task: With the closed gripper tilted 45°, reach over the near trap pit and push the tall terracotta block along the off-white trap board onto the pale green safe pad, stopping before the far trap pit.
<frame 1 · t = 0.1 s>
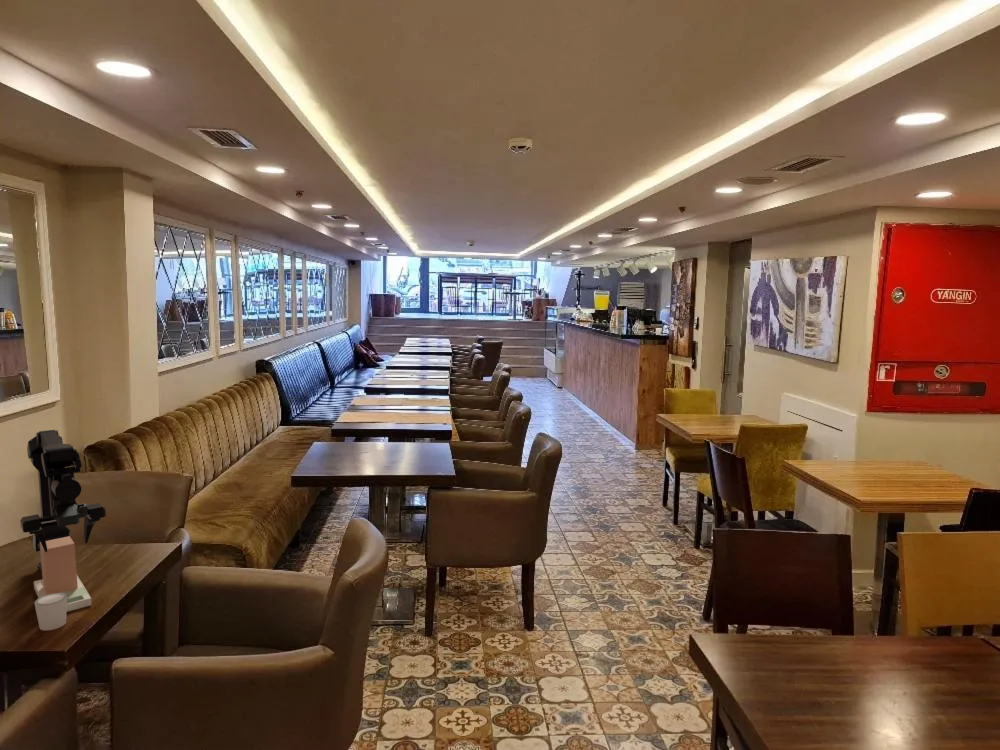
hand: (66, 547, 176), 15 cm above the table, tool pointing down, fingers open, 9 cm apart
trap board: (62, 596, 179), on the table
white cup: (53, 625, 164), on the table
terracotta block: (60, 587, 180), point 2 cm above the table, touching trap board
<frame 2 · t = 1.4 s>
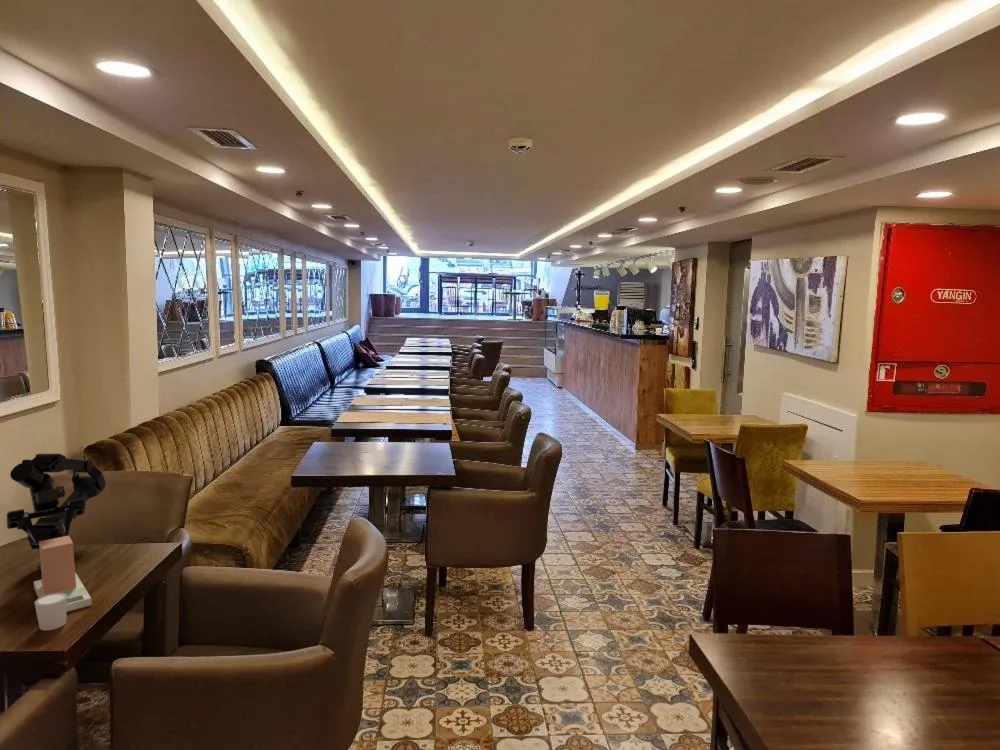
hand: (52, 538, 185), 14 cm above the table, tool tilted 45°, fingers open, 7 cm apart
nothing on the table moved.
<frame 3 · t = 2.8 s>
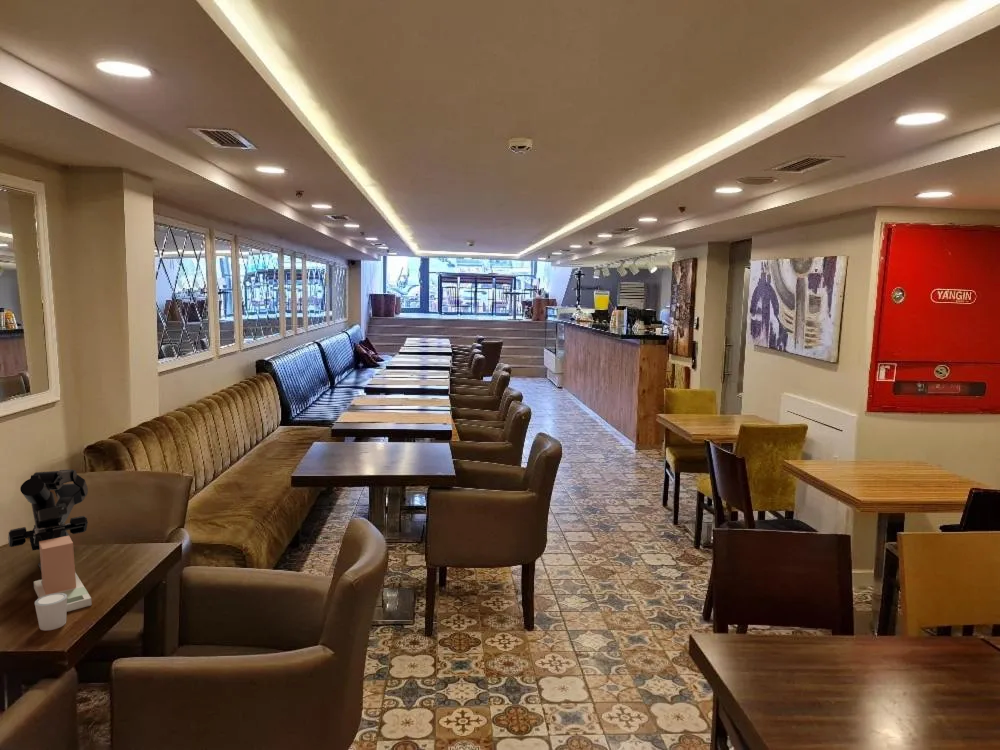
hand: (53, 556, 184), 9 cm above the table, tool tilted 45°, fingers closed
nothing on the table moved.
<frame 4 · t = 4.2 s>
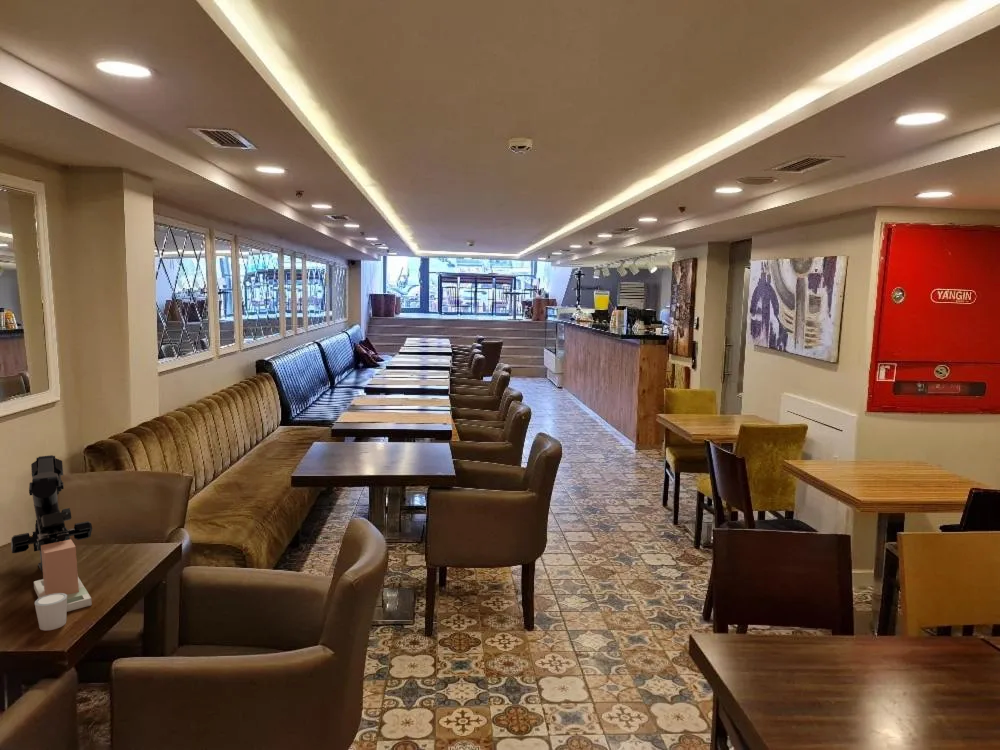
hand: (57, 563, 180), 9 cm above the table, tool tilted 45°, fingers closed, pressing on terracotta block
terracotta block: (61, 591, 178), point 2 cm above the table, touching gripper
everything else where it was.
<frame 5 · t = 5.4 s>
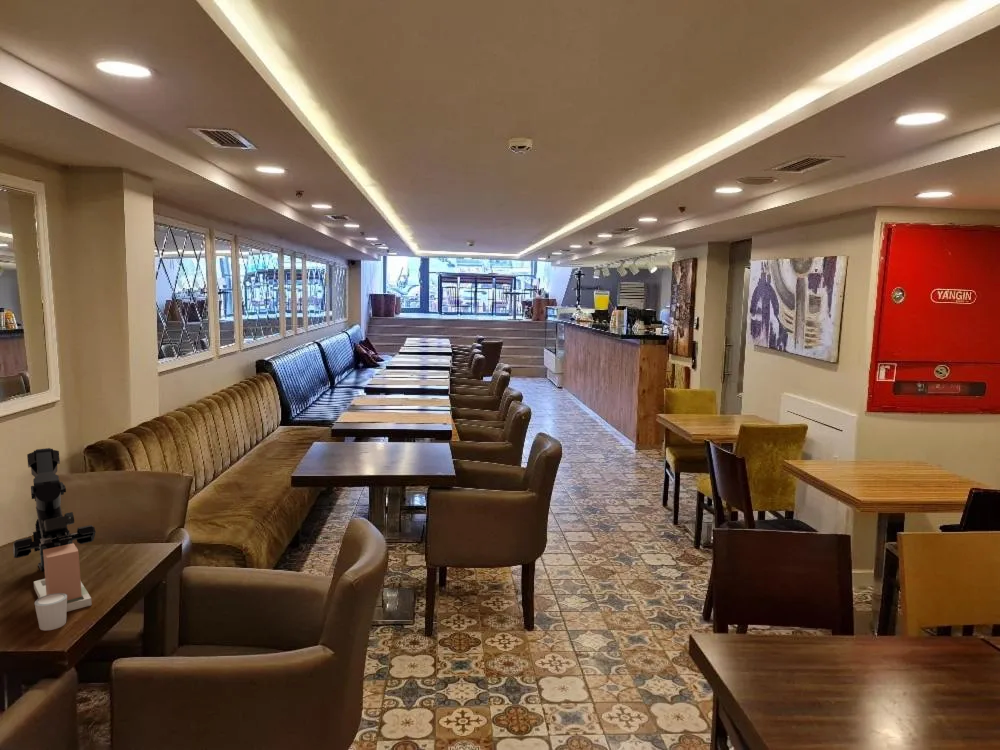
hand: (60, 568, 177), 9 cm above the table, tool tilted 45°, fingers closed
terracotta block: (64, 596, 175), point 2 cm above the table, touching trap board
everything else where it was.
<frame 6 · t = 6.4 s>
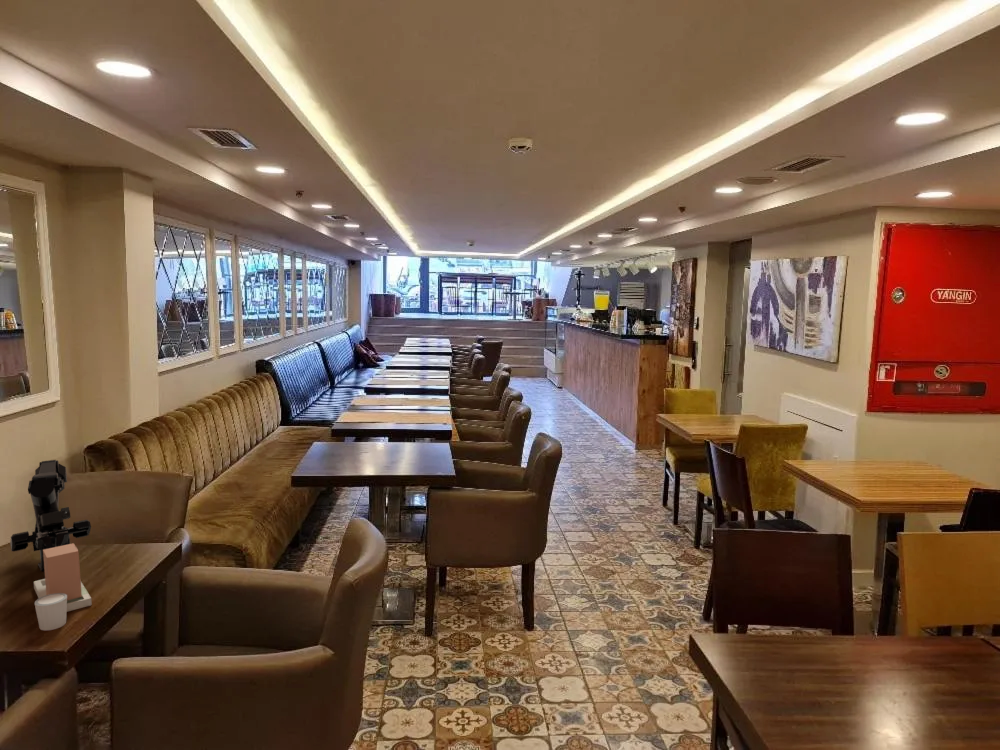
hand: (57, 561, 181), 8 cm above the table, tool tilted 45°, fingers closed
nothing on the table moved.
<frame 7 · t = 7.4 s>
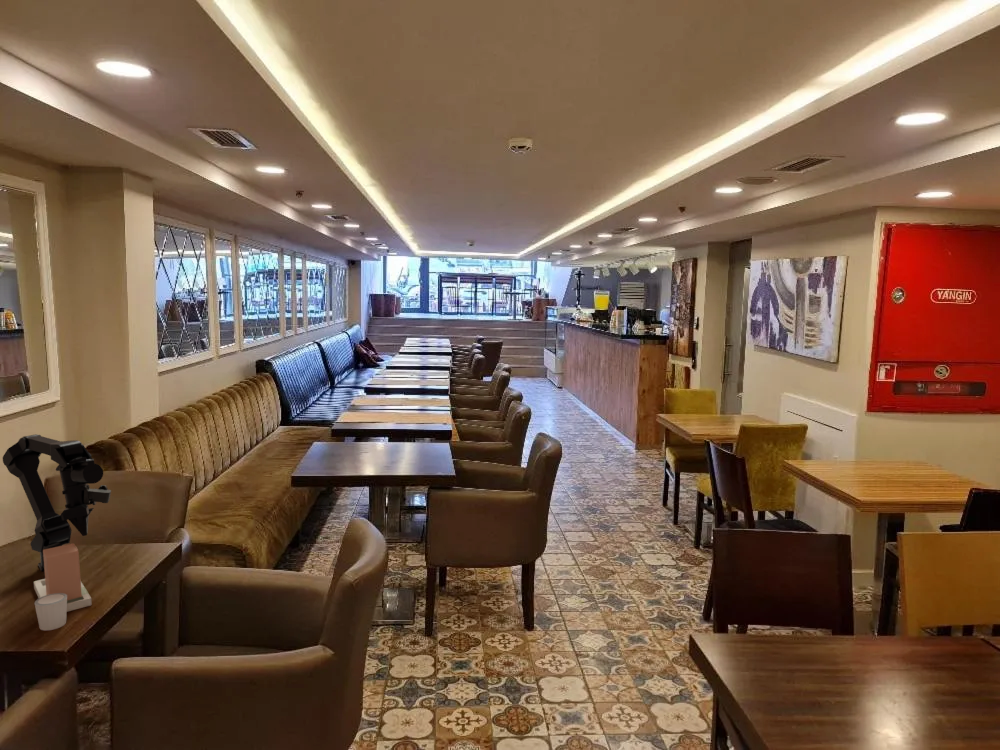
hand: (85, 535, 190), 13 cm above the table, tool pointing down, fingers closed
nothing on the table moved.
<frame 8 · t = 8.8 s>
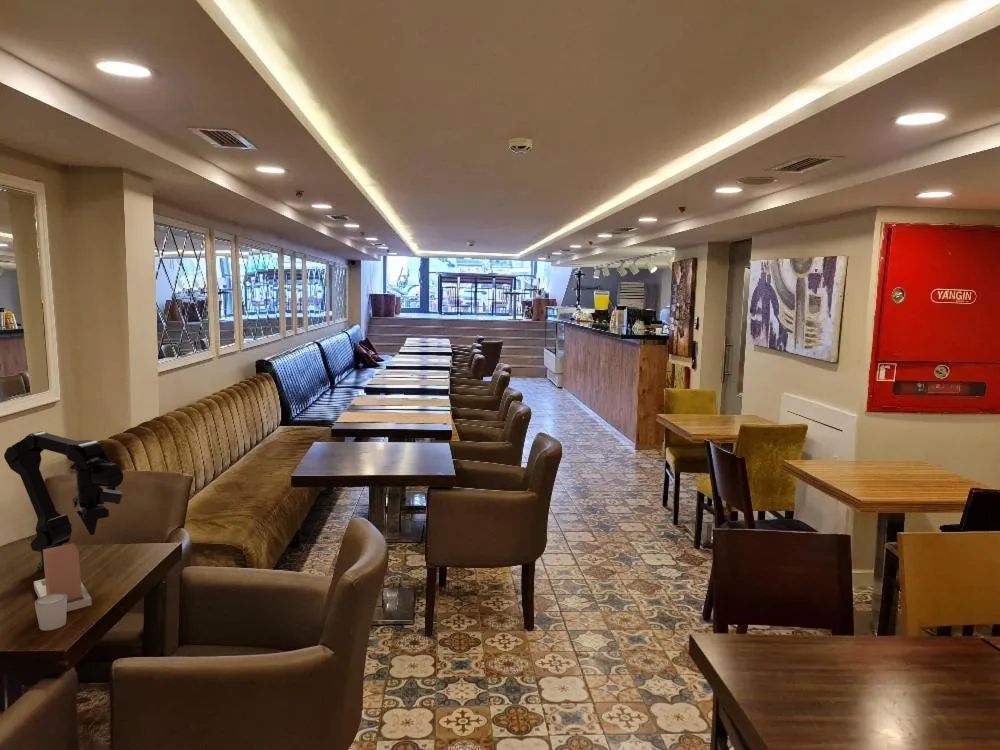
hand: (92, 534, 192), 12 cm above the table, tool pointing down, fingers closed
nothing on the table moved.
at the end: terracotta block 0.2 cm from the target spot on the trap board, point 2.0 cm above the trap board's base; terracotta block tilted 0° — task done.
